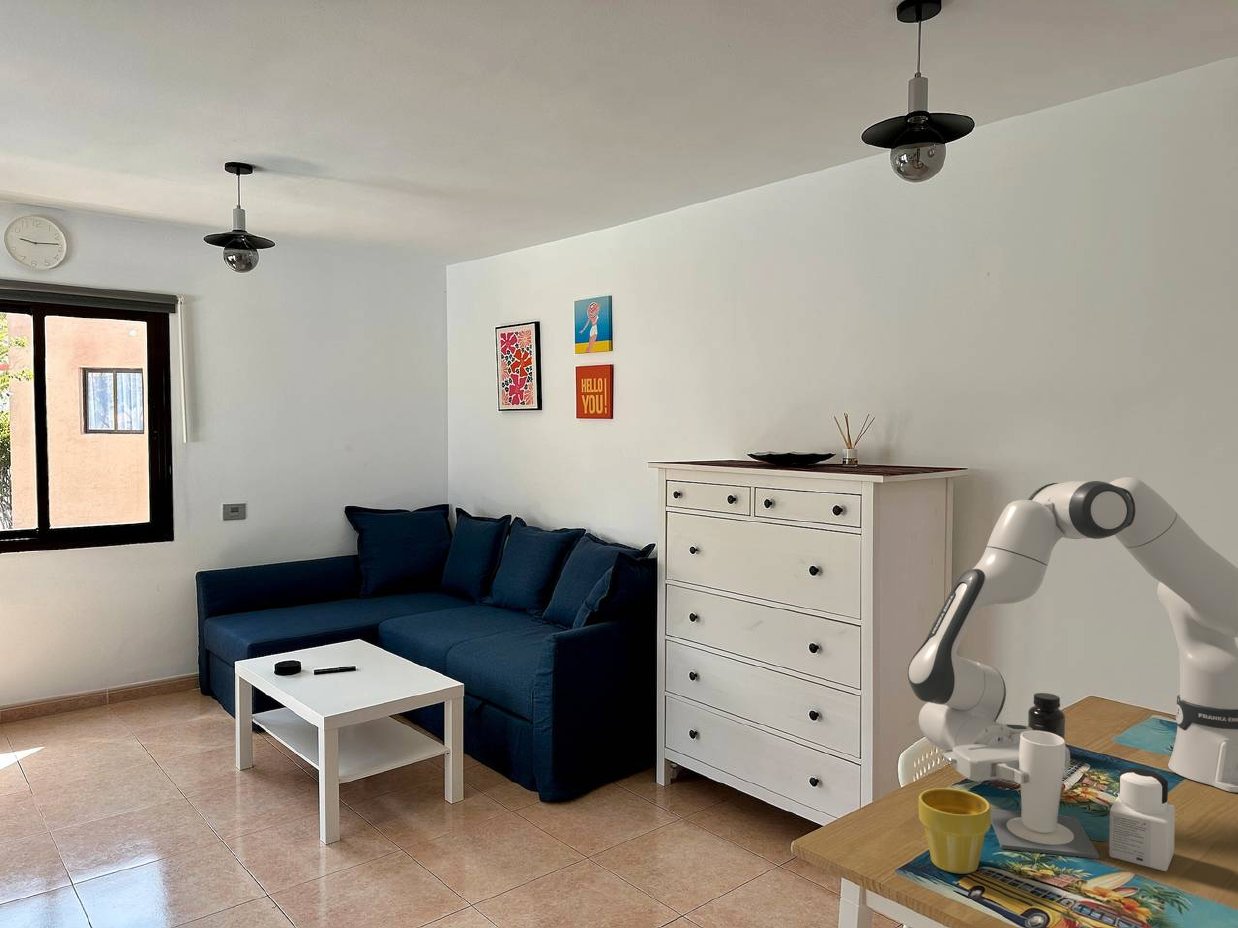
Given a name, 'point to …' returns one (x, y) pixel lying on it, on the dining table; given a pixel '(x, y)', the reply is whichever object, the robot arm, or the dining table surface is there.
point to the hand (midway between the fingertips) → (1044, 776)
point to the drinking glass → (1041, 779)
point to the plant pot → (954, 827)
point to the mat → (1042, 836)
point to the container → (1142, 820)
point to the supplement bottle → (1047, 714)
